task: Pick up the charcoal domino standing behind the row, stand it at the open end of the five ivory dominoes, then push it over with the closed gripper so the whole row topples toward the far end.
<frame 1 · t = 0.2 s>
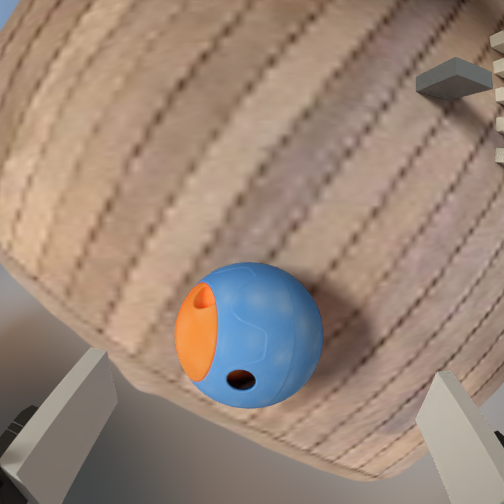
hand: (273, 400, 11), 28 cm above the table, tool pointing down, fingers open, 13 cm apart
treat dispenser ball: (252, 304, 40), on the table
domino 1: (501, 47, 27), on the table
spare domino: (432, 88, 31), on the table
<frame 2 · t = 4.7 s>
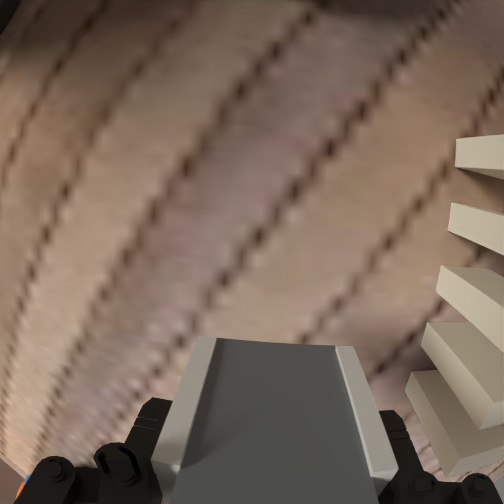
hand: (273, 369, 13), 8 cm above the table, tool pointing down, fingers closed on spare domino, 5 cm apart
domino 2: (475, 220, 19), on the table
domino 4: (449, 333, 21), on the table
domino 5: (432, 379, 22), on the table
domino 1: (481, 160, 17), on the table
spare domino: (274, 361, 13), point 8 cm above the table, touching gripper
domino 3: (464, 279, 20), on the table
when the fingers open (0 cm above the table, at t = 8.9 s): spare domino moves 2 cm and tips over, resting on domino 5.
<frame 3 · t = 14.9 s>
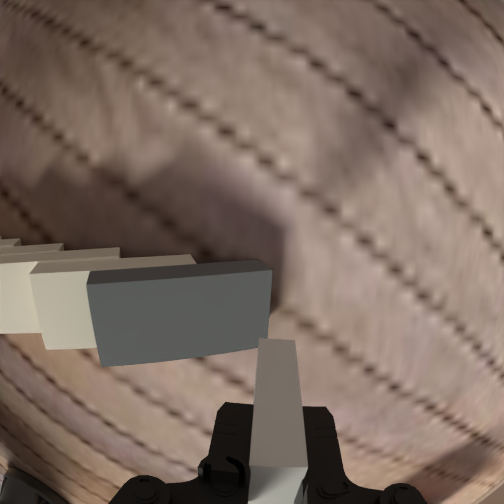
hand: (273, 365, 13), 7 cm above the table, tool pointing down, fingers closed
domino 2: (21, 272, 20), point 1 cm above the table, tilted 65°, touching domino 1, domino 3
domino 4: (122, 287, 20), point 1 cm above the table, tilted 65°, touching domino 3, domino 5
domino 5: (193, 297, 20), point 1 cm above the table, tilted 65°, touching domino 4, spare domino
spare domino: (262, 303, 19), point 1 cm above the table, tilted 65°, touching domino 5
domino 3: (65, 280, 20), point 1 cm above the table, tilted 65°, touching domino 2, domino 4
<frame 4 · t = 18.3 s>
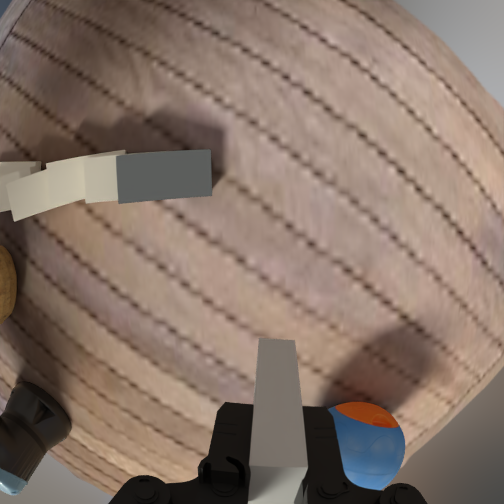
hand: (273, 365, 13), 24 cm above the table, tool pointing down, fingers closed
domino 2: (36, 184, 34), point 2 cm above the table, tilted 90°, touching domino 1
domino 4: (127, 170, 34), point 1 cm above the table, tilted 69°, touching domino 5
domino 5: (171, 173, 34), point 1 cm above the table, tilted 69°, touching domino 4, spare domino
treat dispenser ball: (343, 416, 44), on the table
domino 1: (39, 179, 36), on the table, tilted 90°, touching domino 2
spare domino: (209, 172, 34), point 1 cm above the table, tilted 69°, touching domino 5
domino 3: (78, 179, 35), point 1 cm above the table, tilted 63°
potato: (9, 273, 41), on the table
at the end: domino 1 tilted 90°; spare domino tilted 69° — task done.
